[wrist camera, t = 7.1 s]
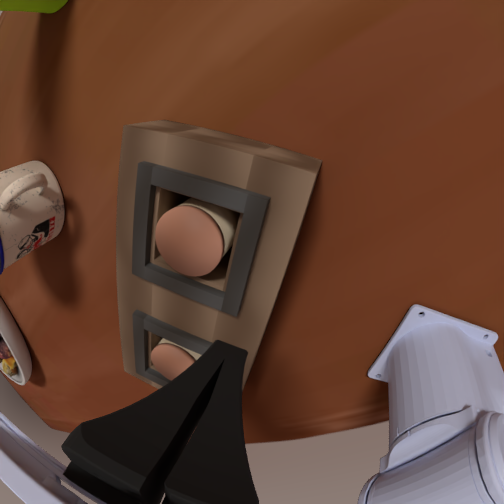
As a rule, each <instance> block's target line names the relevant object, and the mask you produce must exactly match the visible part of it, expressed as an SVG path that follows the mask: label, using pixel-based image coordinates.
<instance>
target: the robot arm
mask: <svg viewBox="0 0 504 504" xmlns="http://www.w3.org/2000/svg"><path fill="white" fill-rule="evenodd" d="M420 312H424V313H423V314H419V313H420ZM486 334H487V335H486ZM485 335H486V336H485ZM497 339H498V335H497V333H496V332H493V331H490V330H488V329H485V328H482V327H479V326H476V325H474V324H471V323H468V322H465V321H463V320H460V319H457V318H454V317H451V316H449V315H446V314H443V313H440V312H437V311H435V310H432V309H429V308H426V307H423V306H421V305H417V304H416V305H413V306H411V308H410V309H409V311H408V312H407V314H406V315H405V317H404V319H403V320H402V322H401V323H400V325H399V327H398V328H397V330H396V331H395V333H394V334H393V336H392V337H391V339H390V340H389V342H388V343H387V345H386V346H385V348H384V349H383V351H382V352H381V354H380V355H379V356H378V358H377V359H376V361H375V362H374V363H373V365H372V366H371V368H370V369H369V370H368V376H369V377H370V378H373V379H377V380H381V381H384V382H388V389H389V452H388V454H387V455H385V456H384V457H382V458H381V459H380V472H379V473H377V474H375V475H374V476H372V477H371V478H370V479H369V480H368V481H367V483H365V485H364V487H363V488H362V490H361V493H360V495H359V499H358V504H504V372H503V370H502V367H501V365H500V362H499V360H498V357H497V355H496V352H495V350H494V347H493V345H494V343H495V342H496V341H497ZM247 356H248V352H247V350H245V349H242V348H239V347H237V346H234V345H231V344H228V343H226V342H223V341H221V340H215V341H214V343H213V344H212V345H211V346H210V347H209V348H208V349H207V350H206V352H205V353H204V354H203V355H202V356H200V357H199V358H198V359H197V360H196V361H195V362H194V363H193V364H192V365H191V366H189V367H188V368H187V369H186V370H185V371H184V372H182V373H181V374H180V375H178V376H177V377H176V378H174V379H173V380H172V381H170V382H169V383H168V384H166V385H165V386H163V387H162V388H160V389H159V390H157V391H155V392H154V393H152V394H150V395H149V396H147V397H145V398H143V399H141V400H139V401H138V402H136V403H134V404H132V405H130V406H127V407H125V408H123V409H120V410H118V411H116V412H113V413H111V414H108V415H105V416H102V417H99V418H96V419H93V420H89V421H86V422H83V423H81V424H80V425H79V426H78V427H76V428H75V429H74V430H73V431H72V432H71V433H70V435H69V436H68V438H67V439H66V440H65V442H64V443H63V444H62V450H63V451H64V453H65V454H66V455H67V456H68V458H69V459H70V460H71V462H70V464H69V465H68V467H66V466H65V465H63V464H62V463H60V462H59V461H58V460H56V459H55V458H54V457H52V456H51V455H50V454H48V453H47V452H46V451H45V450H43V449H42V448H41V447H39V446H38V445H37V444H36V443H35V442H33V441H32V440H31V439H30V438H29V437H28V436H26V435H25V434H24V433H23V432H22V431H21V430H20V429H18V428H17V427H16V426H15V425H14V424H13V423H12V422H11V421H10V420H9V419H8V418H7V417H6V416H4V414H2V413H1V412H0V479H1V480H2V481H3V482H4V483H5V484H6V485H7V486H8V487H9V488H10V489H11V490H12V491H13V492H14V493H15V494H16V495H17V496H18V497H19V498H20V499H21V500H23V502H24V503H26V504H87V503H86V502H85V501H83V500H82V499H81V498H79V497H78V496H77V495H75V494H74V493H73V492H71V491H70V490H68V489H67V488H66V487H64V486H63V485H61V481H60V479H61V480H62V481H64V482H65V483H67V484H68V485H70V486H71V487H73V488H74V489H76V490H77V491H79V492H80V493H81V494H83V495H85V496H86V497H88V498H89V499H91V500H93V501H94V502H96V503H97V504H160V502H161V500H162V497H163V495H164V493H165V498H164V500H163V502H162V504H259V500H258V497H257V494H256V491H255V487H254V484H253V480H252V476H251V472H250V468H249V463H248V458H247V454H246V448H245V441H244V432H243V421H242V383H243V374H244V367H245V362H246V358H247ZM377 374H379V375H377ZM196 426H197V427H196ZM195 428H196V429H195ZM194 430H195V431H194ZM193 431H194V432H193ZM192 433H193V434H192ZM191 435H192V436H191ZM190 437H191V438H190ZM189 439H190V440H189ZM188 441H189V442H188ZM59 478H60V479H59Z"/></svg>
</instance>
